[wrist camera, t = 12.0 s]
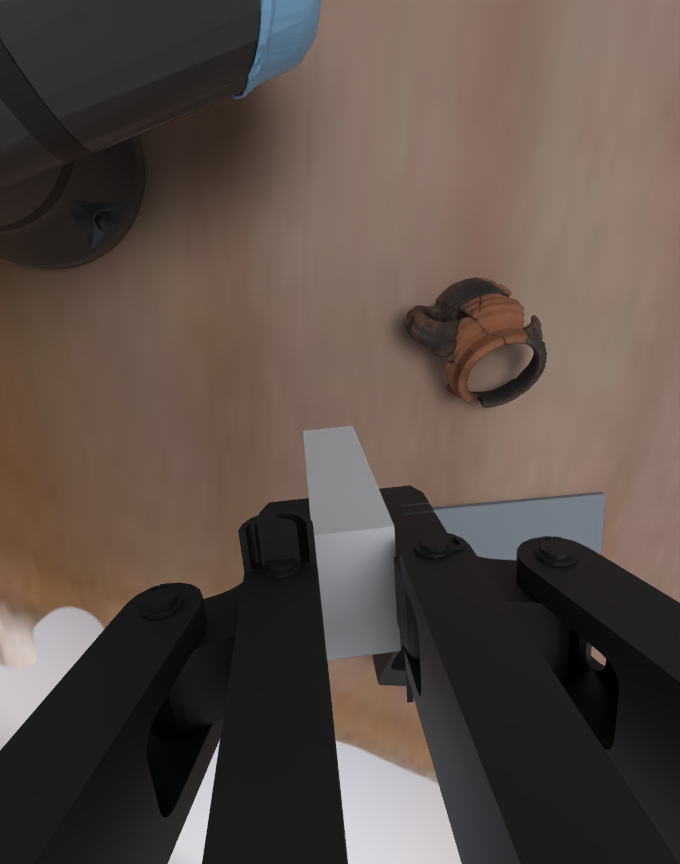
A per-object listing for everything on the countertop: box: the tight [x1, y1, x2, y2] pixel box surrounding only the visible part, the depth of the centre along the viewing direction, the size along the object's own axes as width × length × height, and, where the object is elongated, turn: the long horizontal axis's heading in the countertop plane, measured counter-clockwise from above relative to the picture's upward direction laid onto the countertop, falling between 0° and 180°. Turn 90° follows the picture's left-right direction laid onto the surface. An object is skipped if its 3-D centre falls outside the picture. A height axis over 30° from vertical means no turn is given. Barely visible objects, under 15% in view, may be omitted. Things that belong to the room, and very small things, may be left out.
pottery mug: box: [404, 278, 547, 408], centre depth 43 cm, size 12×10×8 cm
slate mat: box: [433, 492, 605, 560], centre depth 52 cm, size 20×16×1 cm
